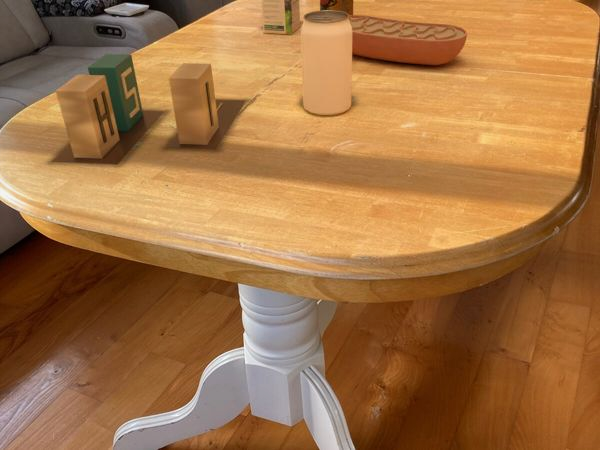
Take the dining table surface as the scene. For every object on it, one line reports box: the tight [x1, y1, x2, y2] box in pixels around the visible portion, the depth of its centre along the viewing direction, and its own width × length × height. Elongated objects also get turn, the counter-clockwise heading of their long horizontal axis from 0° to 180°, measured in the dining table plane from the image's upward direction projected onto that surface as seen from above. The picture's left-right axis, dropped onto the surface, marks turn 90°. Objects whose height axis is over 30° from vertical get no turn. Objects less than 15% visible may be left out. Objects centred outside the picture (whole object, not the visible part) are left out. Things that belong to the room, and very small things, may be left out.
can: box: [300, 10, 353, 117], centre depth 75 cm, size 6×6×12 cm
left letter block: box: [51, 74, 165, 166], centre depth 69 cm, size 8×15×9 cm, turn 171°
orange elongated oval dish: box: [348, 14, 468, 66], centre depth 93 cm, size 23×10×5 cm, turn 59°
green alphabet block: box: [87, 53, 144, 131], centre depth 72 cm, size 4×5×8 cm
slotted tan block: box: [166, 62, 247, 151], centre depth 71 cm, size 6×15×9 cm, turn 171°
